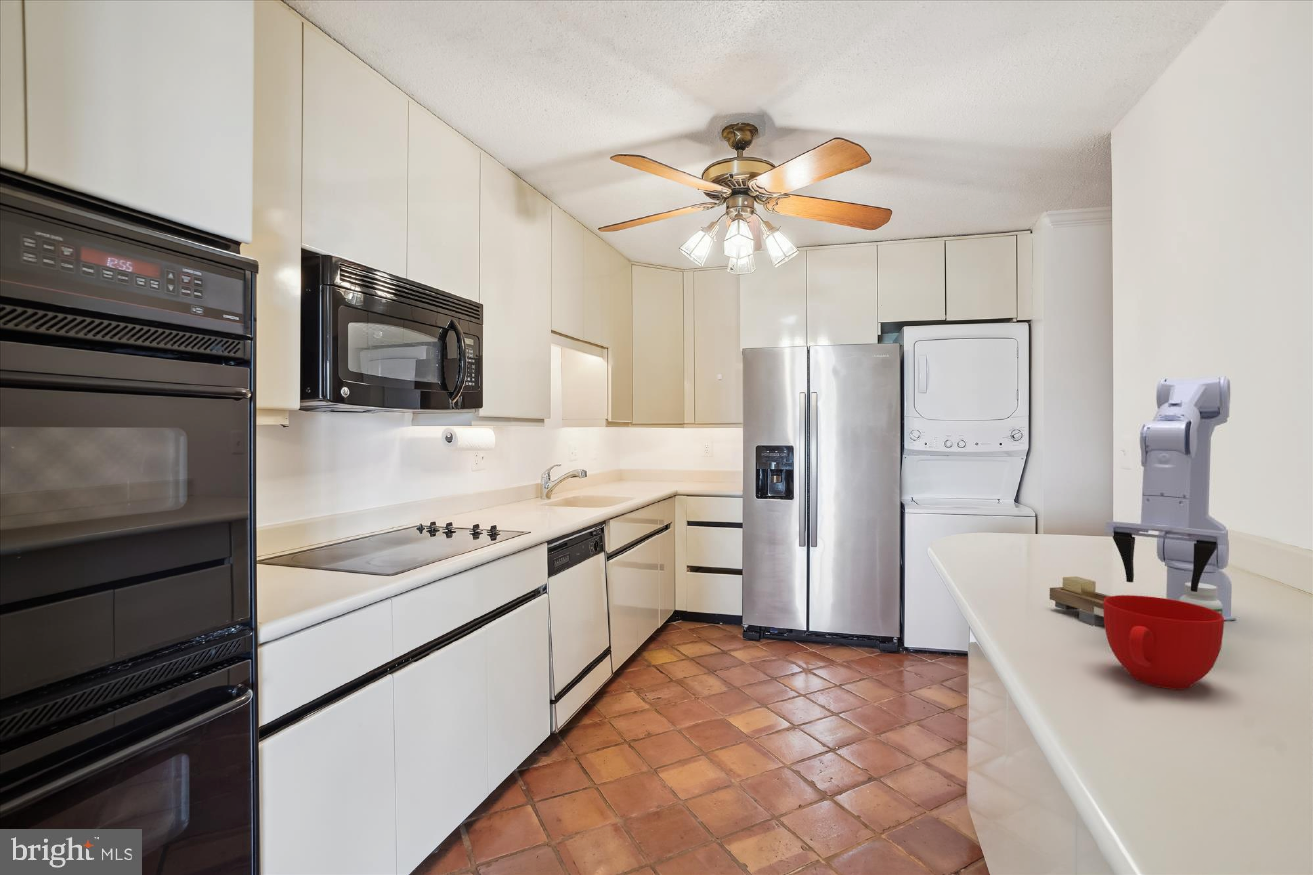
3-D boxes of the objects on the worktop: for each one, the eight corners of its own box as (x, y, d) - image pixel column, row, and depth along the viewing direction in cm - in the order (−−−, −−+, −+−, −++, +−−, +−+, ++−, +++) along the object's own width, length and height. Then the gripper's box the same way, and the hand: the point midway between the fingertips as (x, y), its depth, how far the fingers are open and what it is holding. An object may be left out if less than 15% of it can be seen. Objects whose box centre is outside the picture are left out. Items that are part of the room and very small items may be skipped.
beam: (1077, 607, 123) (1077, 586, 122) (1166, 636, 106) (1166, 611, 106) (1047, 609, 121) (1047, 587, 121) (1132, 638, 104) (1132, 613, 104)
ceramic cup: (1076, 682, 86) (1077, 609, 86) (1119, 656, 96) (1121, 590, 96) (1198, 717, 76) (1200, 634, 76) (1233, 683, 86) (1235, 610, 86)
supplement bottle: (1185, 637, 106) (1186, 579, 106) (1227, 646, 101) (1228, 586, 101) (1172, 642, 103) (1173, 583, 103) (1215, 652, 98) (1216, 590, 98)
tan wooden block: (1076, 593, 121) (1076, 576, 121) (1095, 598, 117) (1095, 581, 117) (1062, 594, 120) (1062, 577, 120) (1080, 599, 116) (1081, 582, 116)
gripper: (1104, 491, 100) (1099, 578, 99) (1228, 500, 90) (1224, 597, 89) (1110, 494, 105) (1106, 577, 104) (1228, 503, 95) (1225, 594, 94)
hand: (1161, 586), depth 97 cm, fingers open, 7 cm apart
